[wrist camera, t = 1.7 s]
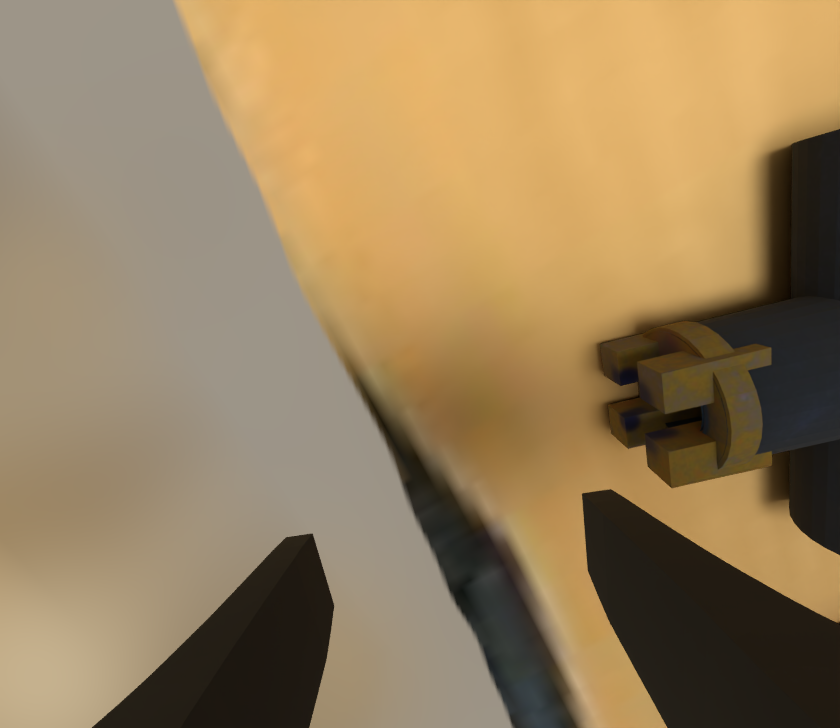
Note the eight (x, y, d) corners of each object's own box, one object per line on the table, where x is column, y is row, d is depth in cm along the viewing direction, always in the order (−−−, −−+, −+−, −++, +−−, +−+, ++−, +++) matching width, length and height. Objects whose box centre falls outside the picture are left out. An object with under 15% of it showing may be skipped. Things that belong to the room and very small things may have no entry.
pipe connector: (694, 632, 14) (659, 174, 10) (618, 529, 19) (574, 201, 15) (1043, 562, 13) (1159, 41, 9) (865, 475, 18) (890, 118, 14)
